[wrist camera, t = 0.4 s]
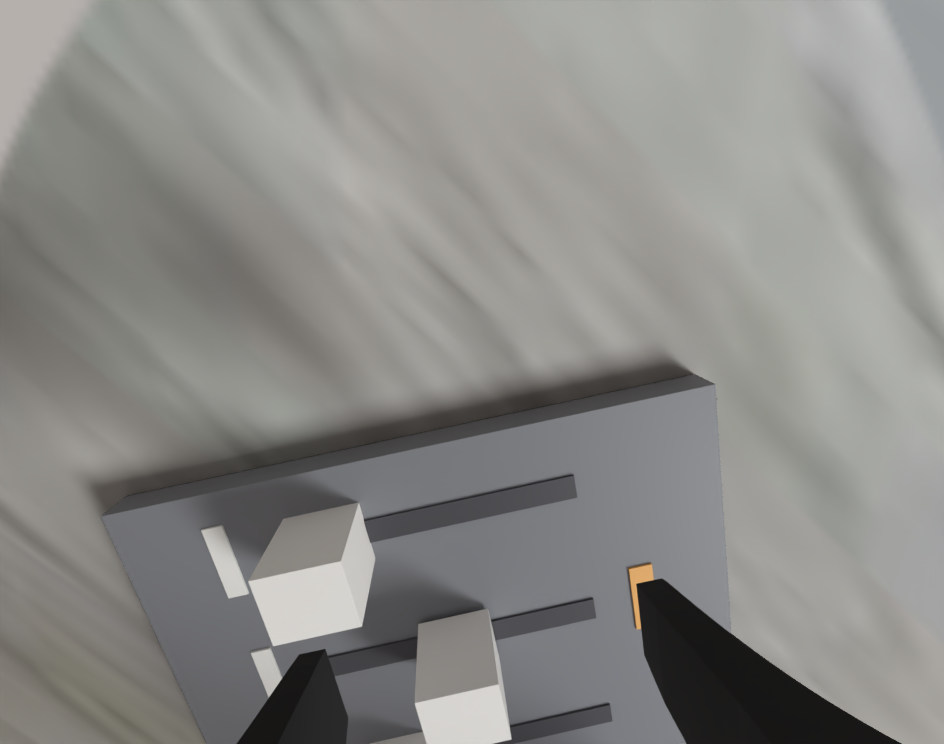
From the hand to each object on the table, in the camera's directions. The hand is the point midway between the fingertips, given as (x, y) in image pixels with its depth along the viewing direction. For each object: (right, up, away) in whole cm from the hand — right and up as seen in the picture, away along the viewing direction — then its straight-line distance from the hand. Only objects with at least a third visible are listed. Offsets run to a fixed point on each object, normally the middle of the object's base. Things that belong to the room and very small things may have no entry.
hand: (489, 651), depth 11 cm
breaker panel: (-1, -5, +11) cm, 12 cm away
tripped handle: (-1, -5, +10) cm, 11 cm away
